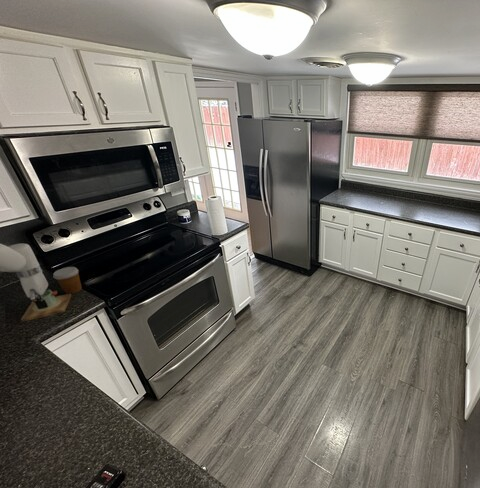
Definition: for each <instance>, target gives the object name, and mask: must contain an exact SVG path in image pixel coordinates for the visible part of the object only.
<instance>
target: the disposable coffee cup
mask: <svg viewBox="0 0 480 488" xmlns="http://www.w3.org/2000/svg"><path fill="white" fill-rule="evenodd" d="M52 278H53V279H54V280H56V281H57V283H58V284H59V286H60V287H61V288H62V290H63V291H64V292H65V295H66V294H71V295H74V294H77V293H79V292H80V291H82V289H83V287H82V283H81V279H80V275H79V269H78V268H77V267H75V266H67V267H63V268H61V269H57V270H55V271H54V272H53V276H52Z"/></svg>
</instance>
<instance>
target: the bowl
mask: <svg viewBox="0 0 480 488" xmlns="http://www.w3.org/2000/svg"><path fill="white" fill-rule="evenodd" d="M57 294H58V290H53V291H52V290H51V289H50V290H46V291H45V292H44V293H43V294H42V296H43V300H45V301H46V303H47V305H48V307H47V308H42V309H38V307H37V306H36V304H35V303H34V302H33V301H32V302H33V303H34V304H35V306H34V307H33V308H32V310H33V311H34V312H43V311H47V310H50V309H52V308H54V307H56V306H58V305H59V304H60V303H61V300H60V299H59V298H55V297H56V295H57ZM36 295H39V294H36ZM36 298H40V296H37V297H36Z"/></svg>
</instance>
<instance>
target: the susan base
mask: <svg viewBox="0 0 480 488" xmlns="http://www.w3.org/2000/svg"><path fill="white" fill-rule="evenodd" d="M55 298H59V299H60V300H61V303H60V304H59V305H58V306H56V307H54V308H52V309H50V310H47V311H43V312H34V311H33V310H32V308H33V307H34V306H35V304H34V303H33V301H31V303H30V305H29V306H28V308H27V309H26V310H25V312H24V314H23V315H22V316H21V318H20V321H21V322H22V323H24V322H28V321H32V320H36V319H40V318H44V317H51V316H53V315H57V314H62V313H65V311H66V309H67V307H68V305H69V303H70V301H71V298H72V294H66V293H65V294H62V295H57V296H55Z"/></svg>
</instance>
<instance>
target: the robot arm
mask: <svg viewBox="0 0 480 488" xmlns="http://www.w3.org/2000/svg"><path fill="white" fill-rule="evenodd" d="M0 272H2V273H3V272H4V273H5V272H6V273H15V274H16V276H17V277H18V278H19V280H20V281H19V282H20V284H21V287H22V289H23V292H24V293H25V296H26V297H27V298H29V299H30V301H31V302H34V303H35V304H36V306H37V307H38V309H42V308H47V307H48V305H47V303H46V301H45V300H43V296H42V294H43V293H44V292H45V291H46V290H50V291H51V289H50V287H49V282H48V280H47V278H46V276H45V274H44V273H43V269H42V267H41V265H40V263H39V261H38V259H37V257H36V255H35V253H34V251H33V249H32V247H31V246H30V245H29V244H28V243H22V242H21V243H15V244H11V245H9V246H7V245H5V244H3V243H0ZM36 294H39V295H36ZM37 296H40V298H36V297H37Z"/></svg>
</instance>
